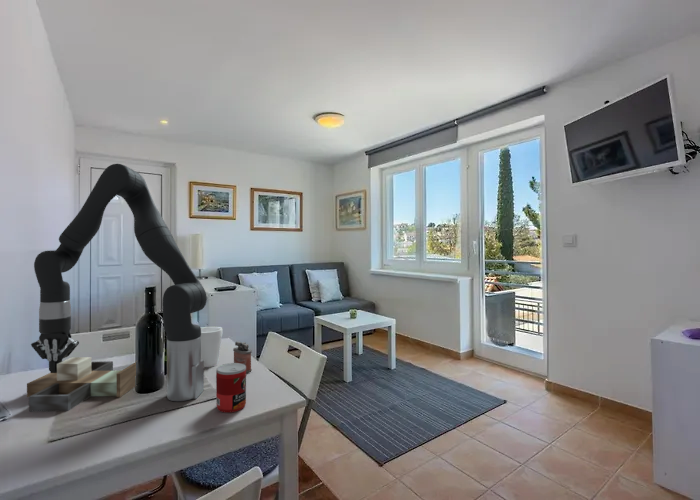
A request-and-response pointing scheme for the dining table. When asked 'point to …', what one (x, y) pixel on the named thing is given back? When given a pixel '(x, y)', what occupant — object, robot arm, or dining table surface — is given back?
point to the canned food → (231, 387)
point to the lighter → (243, 355)
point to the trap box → (79, 387)
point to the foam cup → (210, 345)
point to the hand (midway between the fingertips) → (55, 372)
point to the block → (74, 368)
